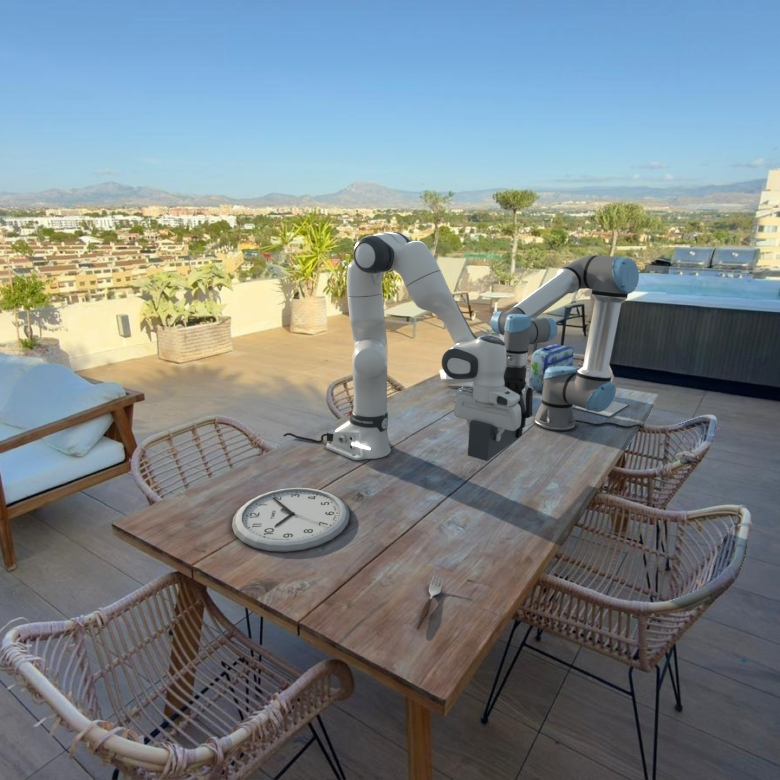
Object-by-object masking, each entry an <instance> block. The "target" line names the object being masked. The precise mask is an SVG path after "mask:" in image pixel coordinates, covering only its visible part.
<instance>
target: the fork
mask: <svg viewBox="0 0 780 780" xmlns="http://www.w3.org/2000/svg"><path fill="white" fill-rule="evenodd" d="M435 573H436V572H433V576H432V579H431V581H430V584H429V587H428V592H429V594H430V597H429V598H428V599H427V601H426V602H425V605H424V606H423V608H422V611H421V614H420V617H419V621H418V624H417V627H416V630H417V631H418V630H419V629H420V627H421V625H422V623H423V622H424V620H425V618H426V616H427V615H428V613H429V611H430V608H431V603H432V600H433V598H434V597H435V596H437V595H439V594H441V593H442V589H443V583H444V578H445V575H443V576H442V574H440V575H439V578H438V574H439V573H438V572H437V574H436V577H435ZM441 577H442V580H441ZM434 579H435V580H434ZM440 582H441V583H440Z"/></svg>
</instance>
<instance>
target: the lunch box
mask: <svg viewBox="0 0 780 780" xmlns="http://www.w3.org/2000/svg"><path fill="white" fill-rule="evenodd" d="M530 359H531V360H530V366H529V377H528V379H529V380H528V385H529V386H534V391H536V392H541V393H542V391H543V381H544V379H543V378H544V375H545V370H546V369H547V368H549V367H555V366H571V367H573V363H574V347H572V346H568V345H562V344H551V345H547V346H545V347H541V348H539V349H536V350H534V352H533V353H532V355H531V358H530Z"/></svg>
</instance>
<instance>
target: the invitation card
mask: <svg viewBox="0 0 780 780" xmlns="http://www.w3.org/2000/svg"><path fill="white" fill-rule="evenodd" d="M628 406H629V404H627V403H623V402H618V401H614V400H613V401H612V403H611V404H610V405H609V406H608V407H607V408H606V409H605V410H603V411H601V412H595V411H591V410H590V411H589V410H586V409H584V408H581V407H578V406H574V407H573V409H575V410H581V411H584V412H587V413H593V414H596V415H600V416H604V417H608V418H609V417H611V416H613V415H614V414H616V413H617V412H619V411H621V410H623V409H624V408H626V407H628Z"/></svg>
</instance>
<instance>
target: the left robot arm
mask: <svg viewBox="0 0 780 780" xmlns="http://www.w3.org/2000/svg"><path fill="white" fill-rule="evenodd" d="M432 253H433V252H431V250H430V249H429V248H428V246H427V245H426V244H425V243H424V242H423V241H419V240H411V239H410V238H409V237H408V236H407V235H405V234H403V233H401V232H397V231H394V232H379V233H376V234H373V235H372V234H369V235H366V236H364V237H361V238H360V239H359V240H358V241H357V242H356V243H355V245H354V247H353V251H352V257H353V260H351V261H350V262H349V264H348V265H347V271H346V297H347V307H348V315H349V316H348V317H349V324H350V328H351V334H352V342H353V352H352V356H351V367H352V368H351V369H352V370H351V371H352V387H353V409H351V410H350V411H348V412H347V413H346V417H349V418H348V420H346V421H345V422H343V423H342V424H341V425H339V426H338V427H336V428H331V429H330V430H329V431H327V432H326V433H323V434H321V436H320V440H317V439H313V438H309V437H304V436H299V435H296V434H294V433H291V432H286V433H284V434H283V435H282V437H287V436H291V437H293V438H296V439H299V440H303V441H310V442H313V443H318V444H319V443H322V442H324V437H326V441H327V443H326V446H325V449H327V450H328V451H331V452H333V453H335V454H338V455H341V456H343V457H345V458H348V459H350V460H353V461H362V460H376V459H381V458H384V457H386V456H388V455H390V454H391V452H392V448H391V445H390V440H389V433H388V425H389V411H388V356H389V353H388V351H389V350H388V339H387V338H388V337H387V327H386V317H385V305H384V292H383V276H384V275H385V274H386V273H390V272H393V271H394V272H396V273H398V274H399V276H400V278H401V280H402V282H403V284H404V286H405V288H406V290H407V292H408V295H409V297H410V299H411V300H412V301H413V303H414V304H415V306H416V307H417V308H419V309H421V310H423V311H426V312H429V313H431V314H433V315H434V316H437V317H438V318H439V319H440V320H441V321H442V323H443V324H444V326H445V328H446V330H447V332H448V334H449V335H450V338H451V339H452V342H453V344H454V345H455V346H454V347H453V346H451V347H450V348H449V349H448V350H446V351H445V352H444V353H443V355H442V357H441V367H442V369H443V370H444V372H445V373H446V374H447V375H448V376H449V377H451V378H453V379H471V378H472V379H473V382H472V388H466V387H464V386H461V387H459V388H457V389H456V391H455V401H454V407H453V414H454V416H455V417H456V418H459V419H463V420H466V425H467V427H468V428H469V427H470V422H471V421H472V420H475V421H479V422H483V423H487V424H491V425H493V426H494V427H498V431H499V432H498V434H497V433H496V434H495V435H494V439H493V440H494V441H500V438H501V434H502V433H503V432H504V430H505V429H506V430H510V431H515V430H517V429H518V428H519V427H520V426H521V407H520V405H519V404H518V402H519V401H520V395H519V394H517V393H515V392H513V391H512V390H510V389H508V388H507V387H505V386H504V385H505V381H504V373H505V370H506V346H505V343H504V342H503V341H502V340H501V338H500V337H497V336H493V335H487V334H486V335H485V334H483V335H480V336H479V337H477V336H476V335H475V334H474V332H473V331H472V328H471V327H470V325H469V323H468V321H467V319H466V317H465V315H464V314H463V312H462V310H461V308H460V306H459V305H458V303H457V301H456V299H455V297H454V295H453V294H452V292H451V289H450V288H449V285H448V284H447V281H446V279H445V275H443V272H442V270H441V268H440V265H439V263H438V262H437V260H436V258H435V256H434V255H433V254H432Z"/></svg>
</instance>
